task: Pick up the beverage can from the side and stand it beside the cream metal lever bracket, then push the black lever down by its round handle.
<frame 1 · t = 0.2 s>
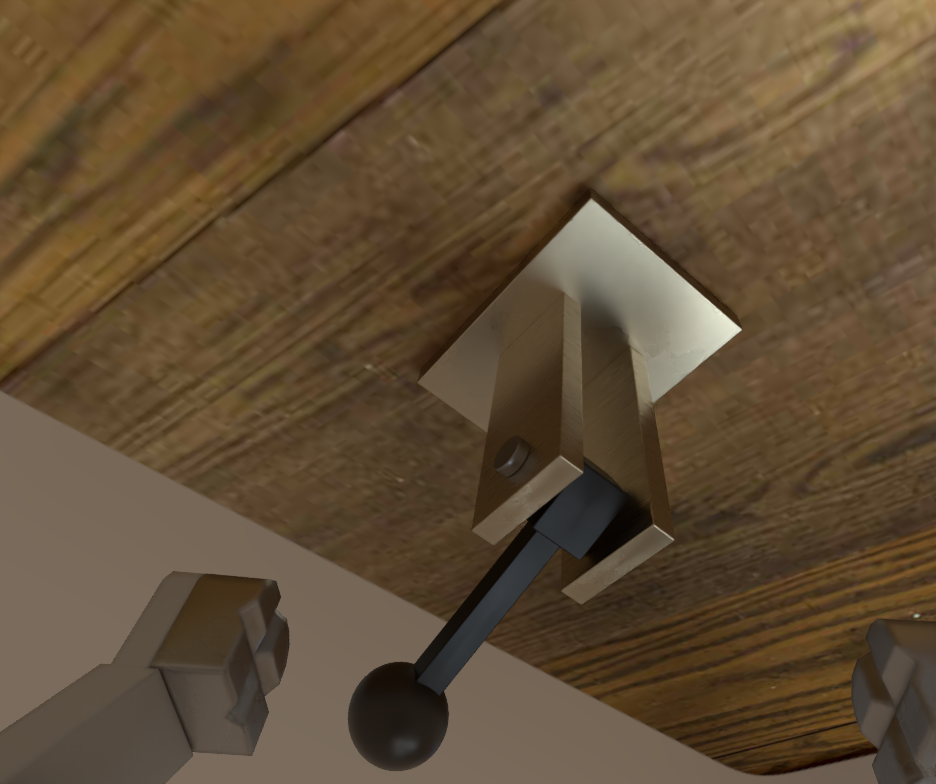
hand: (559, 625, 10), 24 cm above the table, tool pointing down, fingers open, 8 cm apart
lever: (480, 613, 26), point 13 cm above the table, hinge at 25.0°
bracket: (571, 344, 35), on the table
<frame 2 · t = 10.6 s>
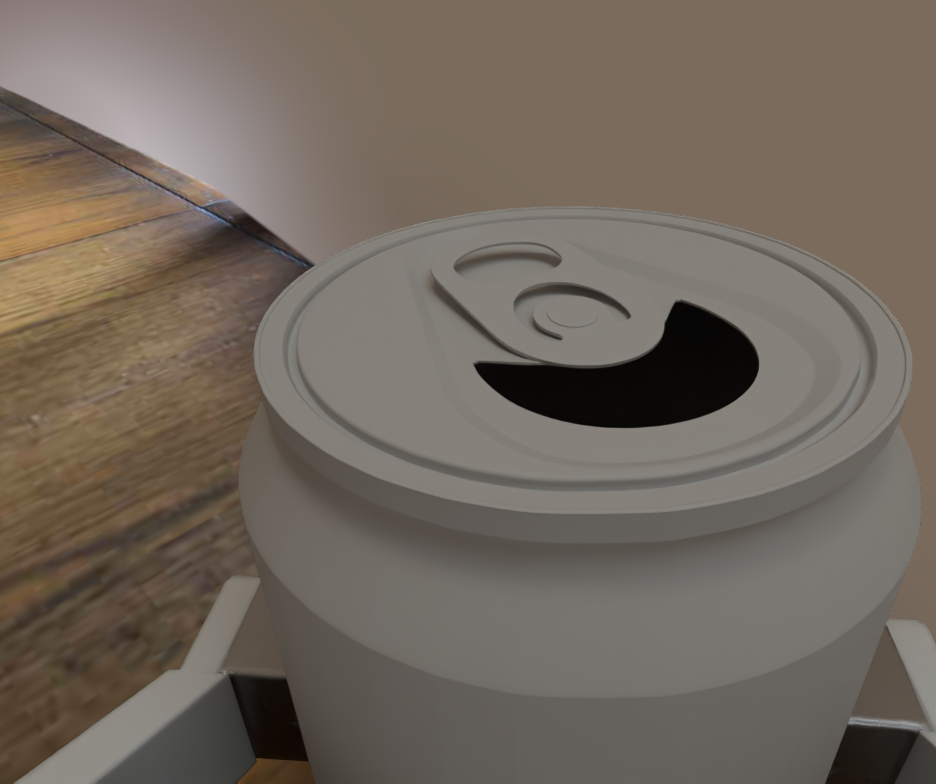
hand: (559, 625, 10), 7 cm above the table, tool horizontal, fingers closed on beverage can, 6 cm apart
when the fingers open (7 cm above the table, at t = 18.6 s): beverage can stays where it is, on the table.
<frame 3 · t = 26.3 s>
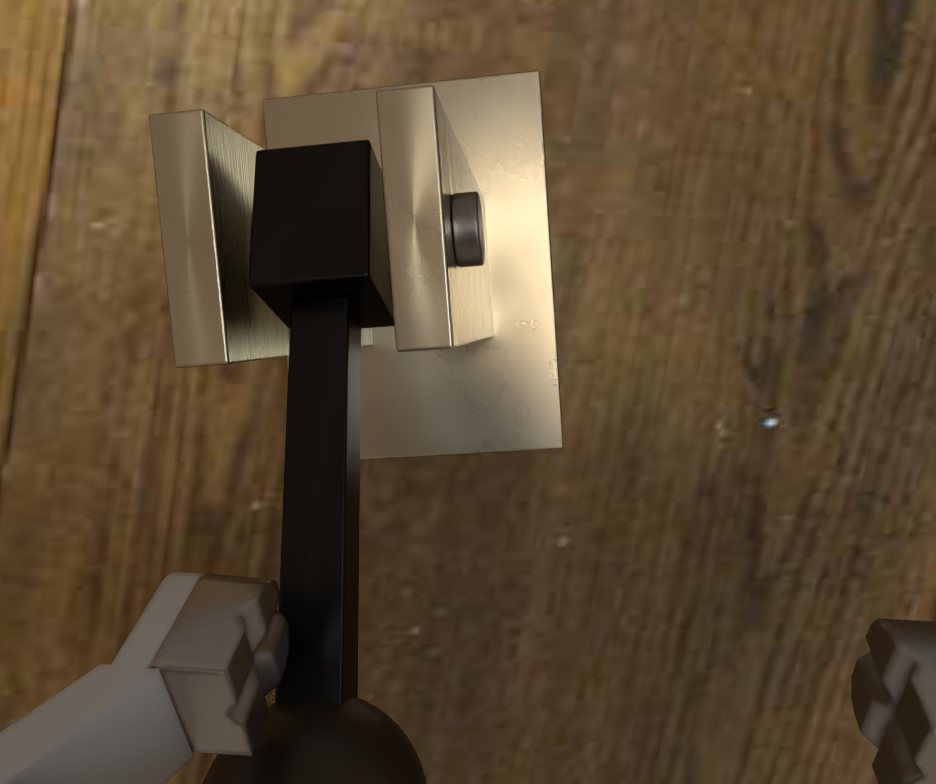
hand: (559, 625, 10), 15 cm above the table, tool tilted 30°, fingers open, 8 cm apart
lever: (322, 508, 13), point 13 cm above the table, hinge at 21.8°
bracket: (418, 276, 26), on the table
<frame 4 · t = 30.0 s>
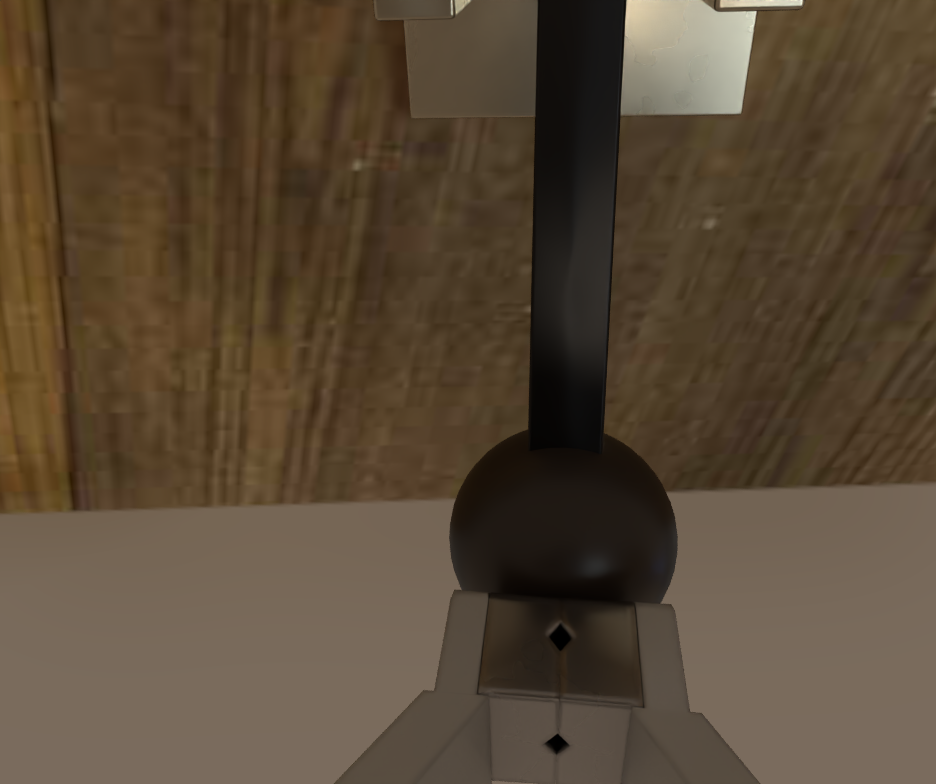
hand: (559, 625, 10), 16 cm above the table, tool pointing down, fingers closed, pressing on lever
lever: (572, 232, 11), point 12 cm above the table, hinge at 15.8°, touching gripper
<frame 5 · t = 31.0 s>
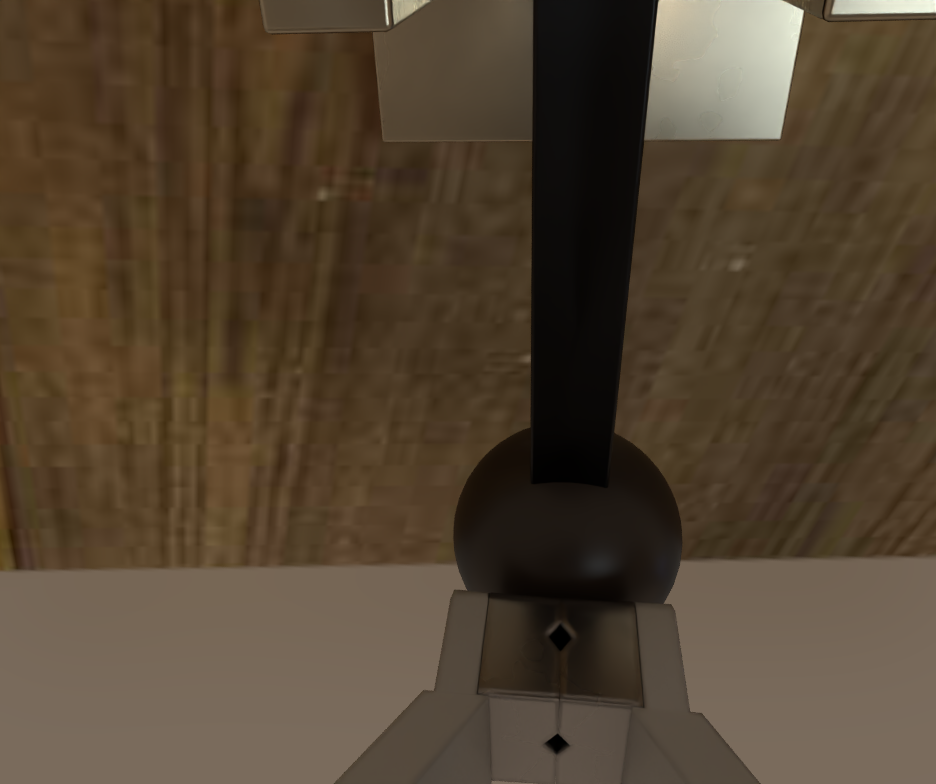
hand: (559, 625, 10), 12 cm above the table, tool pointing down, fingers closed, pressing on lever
lever: (579, 273, 9), point 10 cm above the table, hinge at -7.0°, touching gripper
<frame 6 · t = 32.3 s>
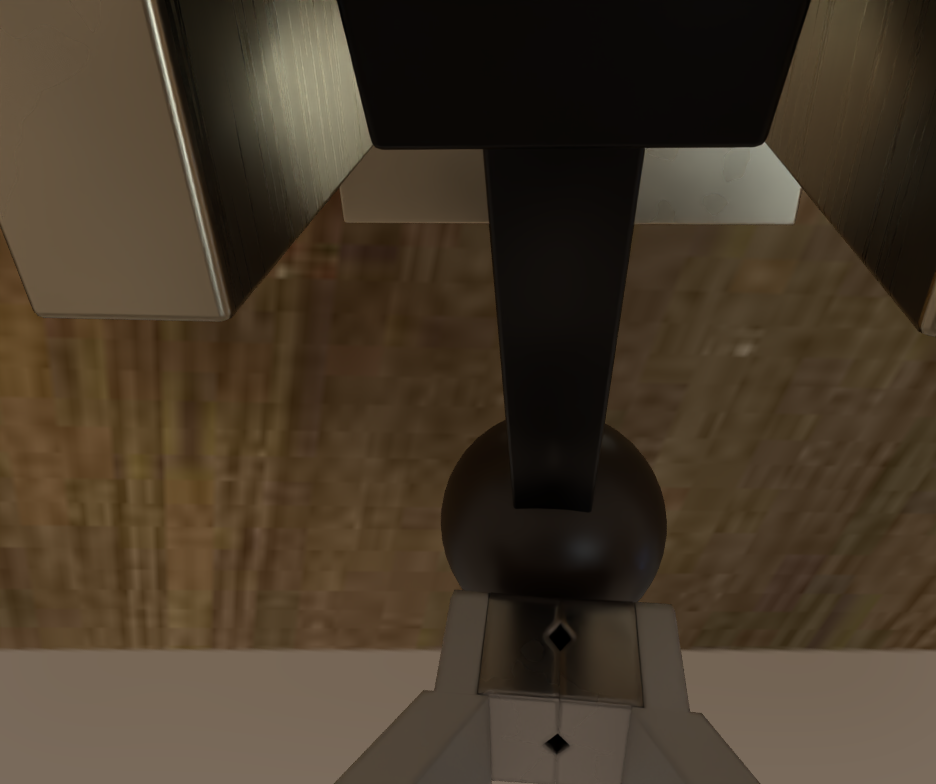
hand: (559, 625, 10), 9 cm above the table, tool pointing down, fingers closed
lever: (556, 355, 8), point 9 cm above the table, hinge at -26.1°
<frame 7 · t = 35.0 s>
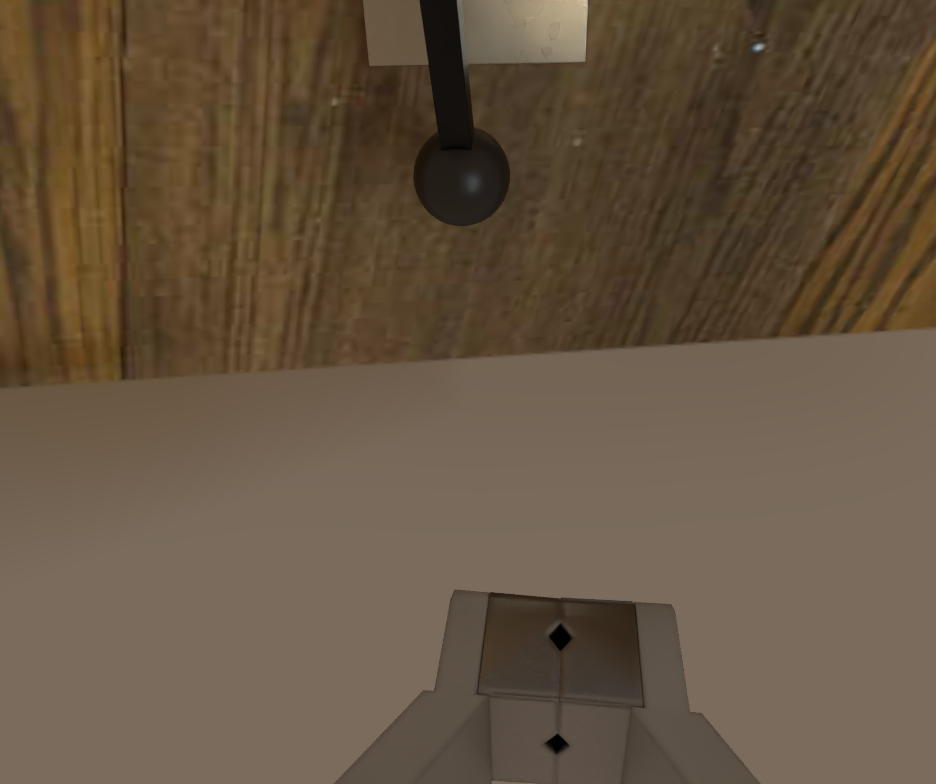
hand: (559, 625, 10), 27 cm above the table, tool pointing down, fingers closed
lever: (448, 61, 24), point 9 cm above the table, hinge at -26.1°
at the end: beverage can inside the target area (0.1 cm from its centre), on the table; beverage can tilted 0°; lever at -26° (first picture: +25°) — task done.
